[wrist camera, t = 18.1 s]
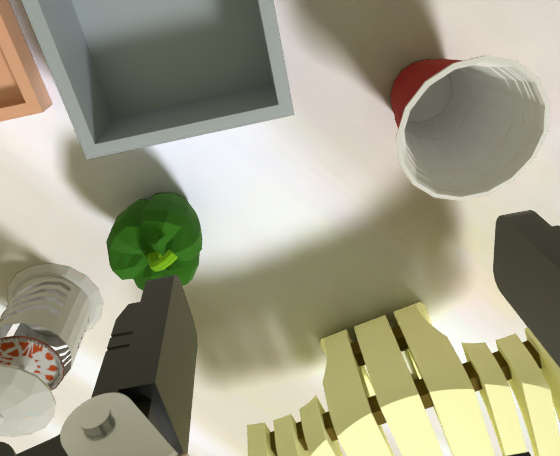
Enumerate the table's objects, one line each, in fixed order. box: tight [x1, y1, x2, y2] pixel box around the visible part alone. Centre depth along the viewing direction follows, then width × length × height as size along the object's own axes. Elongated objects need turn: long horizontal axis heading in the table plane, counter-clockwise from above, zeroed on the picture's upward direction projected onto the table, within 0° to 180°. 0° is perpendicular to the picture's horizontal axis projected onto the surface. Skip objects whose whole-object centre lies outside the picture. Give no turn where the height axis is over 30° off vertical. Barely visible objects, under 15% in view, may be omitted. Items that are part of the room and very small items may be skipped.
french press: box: [0, 263, 103, 437], centre depth 42 cm, size 10×12×25 cm
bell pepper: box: [107, 193, 202, 291], centre depth 45 cm, size 8×8×10 cm
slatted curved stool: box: [247, 302, 560, 456], centre depth 53 cm, size 30×16×18 cm, turn 113°
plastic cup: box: [391, 56, 550, 201], centre depth 40 cm, size 11×11×12 cm
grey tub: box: [21, 0, 294, 159], centre depth 37 cm, size 16×16×8 cm
